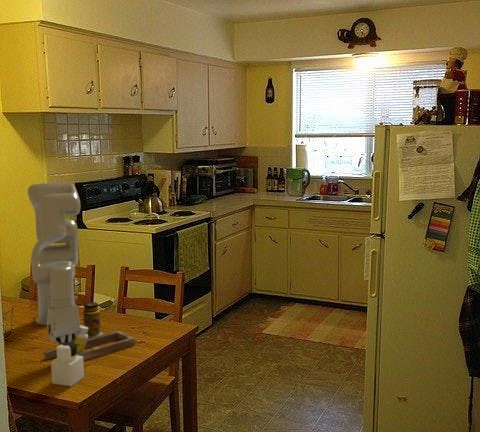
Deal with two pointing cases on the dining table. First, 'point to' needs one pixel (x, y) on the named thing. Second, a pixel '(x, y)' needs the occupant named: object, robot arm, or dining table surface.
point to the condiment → (92, 319)
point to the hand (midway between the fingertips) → (65, 353)
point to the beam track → (98, 351)
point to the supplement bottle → (81, 338)
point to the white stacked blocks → (67, 365)
